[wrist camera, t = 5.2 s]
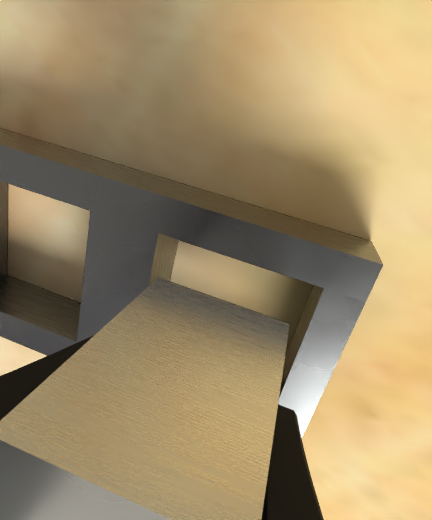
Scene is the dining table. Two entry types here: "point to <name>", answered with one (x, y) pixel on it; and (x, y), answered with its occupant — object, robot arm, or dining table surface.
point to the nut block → (151, 417)
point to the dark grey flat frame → (163, 254)
